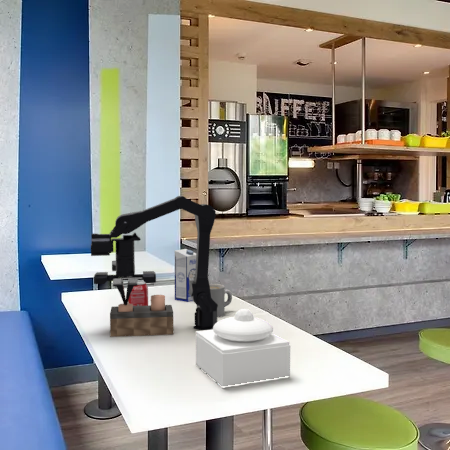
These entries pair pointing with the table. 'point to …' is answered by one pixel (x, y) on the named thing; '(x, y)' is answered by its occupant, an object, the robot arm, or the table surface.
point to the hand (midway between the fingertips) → (125, 304)
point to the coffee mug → (220, 297)
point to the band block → (141, 321)
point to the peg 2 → (157, 302)
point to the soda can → (139, 294)
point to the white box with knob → (242, 350)
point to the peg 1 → (125, 307)
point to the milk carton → (184, 273)
